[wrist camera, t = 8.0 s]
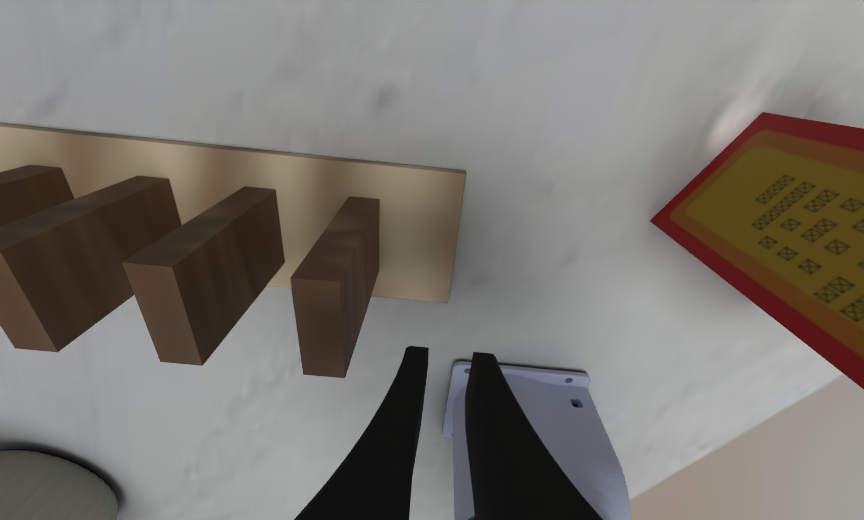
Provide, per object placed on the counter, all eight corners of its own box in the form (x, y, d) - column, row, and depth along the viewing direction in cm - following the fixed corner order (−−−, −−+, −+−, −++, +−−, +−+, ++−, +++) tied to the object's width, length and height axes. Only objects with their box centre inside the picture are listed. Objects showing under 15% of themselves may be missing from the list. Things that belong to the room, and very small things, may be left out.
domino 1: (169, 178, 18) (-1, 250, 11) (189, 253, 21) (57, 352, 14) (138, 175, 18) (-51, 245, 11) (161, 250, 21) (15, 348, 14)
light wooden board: (465, 170, 18) (466, 173, 18) (447, 297, 22) (447, 303, 22) (-49, 118, 18) (-64, 119, 17) (25, 257, 22) (15, 261, 21)
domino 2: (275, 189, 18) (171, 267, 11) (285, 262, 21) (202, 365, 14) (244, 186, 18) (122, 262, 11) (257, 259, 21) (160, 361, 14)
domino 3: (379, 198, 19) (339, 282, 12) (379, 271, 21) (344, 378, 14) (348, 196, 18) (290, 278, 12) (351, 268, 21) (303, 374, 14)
